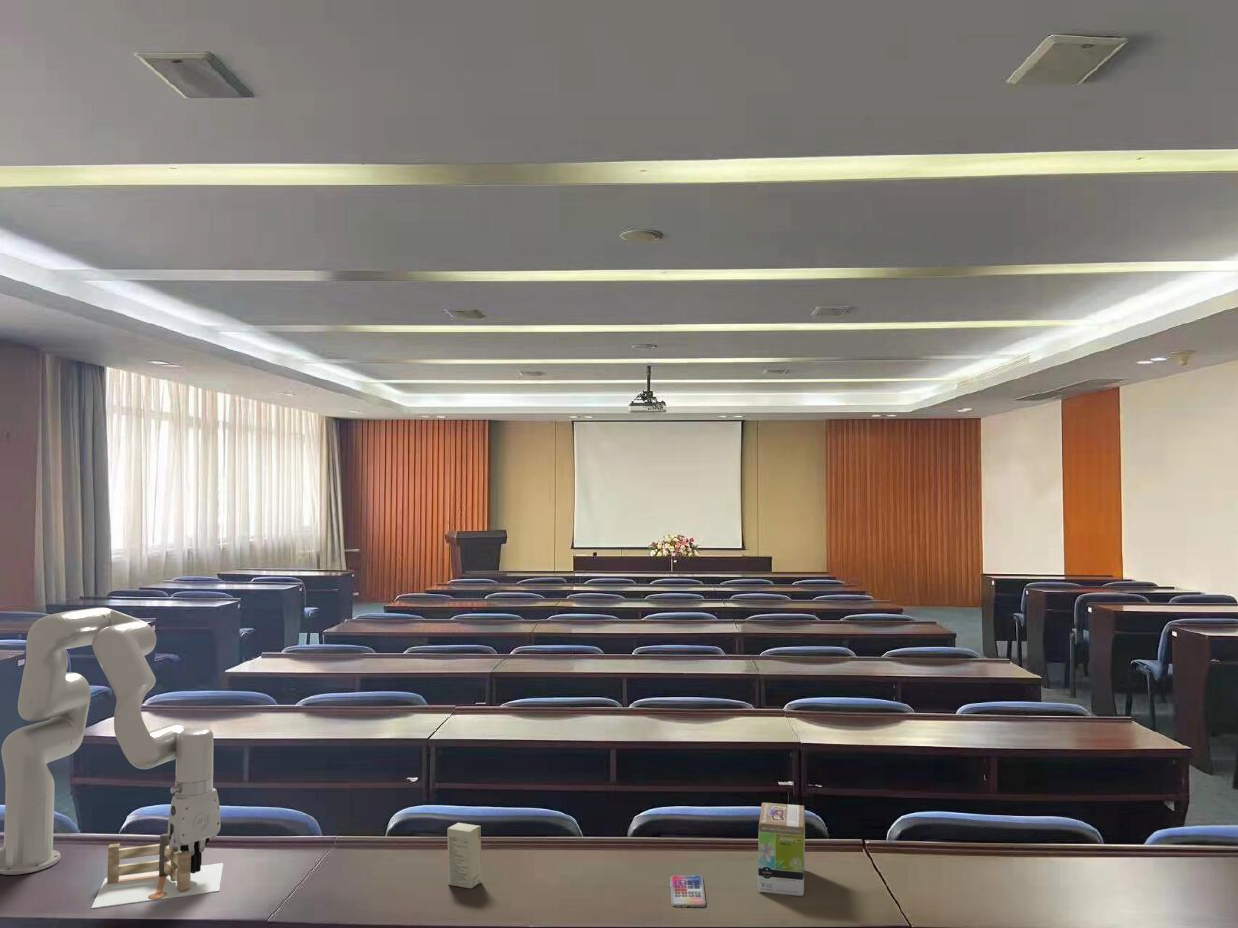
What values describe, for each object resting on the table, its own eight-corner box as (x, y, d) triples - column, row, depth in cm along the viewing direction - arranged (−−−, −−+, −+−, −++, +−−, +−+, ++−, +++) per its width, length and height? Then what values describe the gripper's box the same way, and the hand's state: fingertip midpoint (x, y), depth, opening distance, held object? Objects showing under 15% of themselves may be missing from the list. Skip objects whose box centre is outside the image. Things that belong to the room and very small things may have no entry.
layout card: (91, 909, 186) (91, 907, 186) (105, 878, 201) (105, 877, 201) (219, 891, 194) (219, 890, 194) (223, 863, 209) (223, 862, 209)
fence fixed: (107, 885, 197) (108, 843, 198) (108, 881, 199) (109, 839, 200) (168, 877, 202) (169, 836, 202) (169, 873, 203) (170, 833, 204)
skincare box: (482, 882, 199) (482, 825, 200) (470, 889, 195) (471, 832, 196) (457, 877, 202) (458, 821, 202) (446, 884, 198) (446, 827, 198)
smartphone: (670, 904, 187) (669, 875, 202) (670, 909, 187) (669, 879, 202) (706, 904, 187) (703, 874, 202) (706, 909, 187) (703, 879, 202)
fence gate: (161, 876, 200) (162, 842, 201) (170, 874, 202) (171, 839, 202) (180, 891, 193) (181, 855, 193) (190, 888, 194) (190, 853, 195)
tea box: (805, 897, 192) (804, 826, 192) (757, 893, 194) (756, 822, 194) (805, 869, 206) (804, 803, 207) (760, 865, 208) (760, 800, 209)
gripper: (171, 798, 192) (170, 887, 191) (235, 780, 205) (233, 863, 204) (151, 792, 196) (150, 879, 195) (215, 775, 209) (213, 856, 208)
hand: (193, 871), depth 200 cm, fingers closed
